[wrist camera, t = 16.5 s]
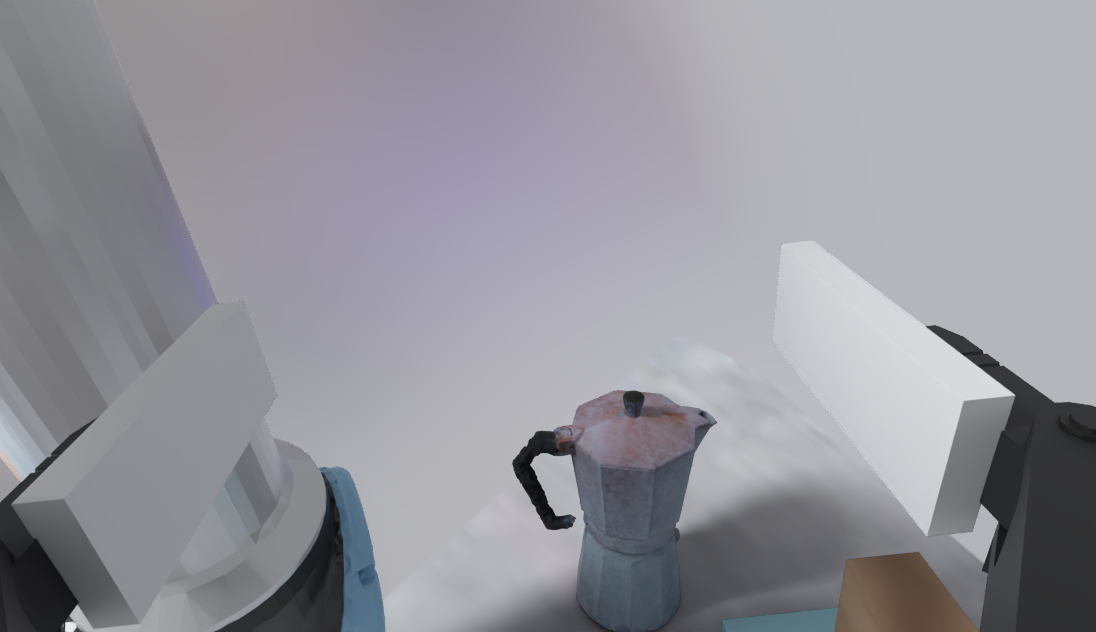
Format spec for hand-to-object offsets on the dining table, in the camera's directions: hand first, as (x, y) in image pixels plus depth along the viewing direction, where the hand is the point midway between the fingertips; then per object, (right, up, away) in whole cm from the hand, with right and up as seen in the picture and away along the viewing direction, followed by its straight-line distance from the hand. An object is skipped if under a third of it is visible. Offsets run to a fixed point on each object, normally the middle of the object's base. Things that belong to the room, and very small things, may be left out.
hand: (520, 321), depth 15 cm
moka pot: (+7, -24, +36) cm, 44 cm away
